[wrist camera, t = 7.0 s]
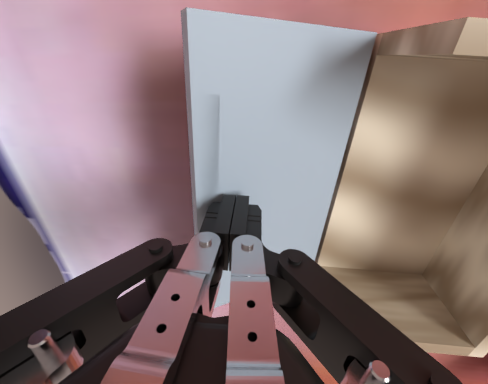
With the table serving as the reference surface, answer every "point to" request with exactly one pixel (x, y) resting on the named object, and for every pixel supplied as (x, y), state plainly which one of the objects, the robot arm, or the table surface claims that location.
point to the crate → (418, 188)
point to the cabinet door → (270, 118)
